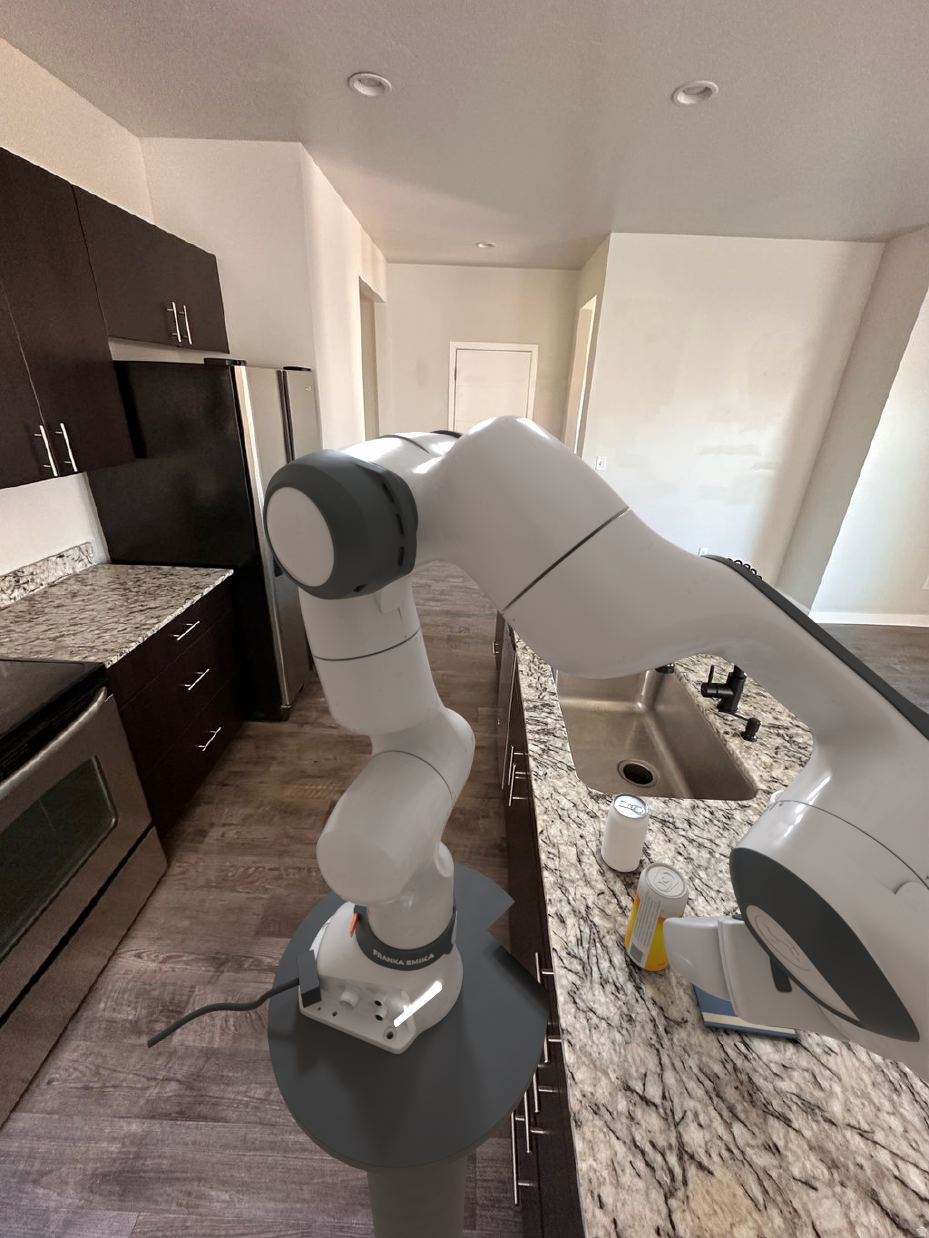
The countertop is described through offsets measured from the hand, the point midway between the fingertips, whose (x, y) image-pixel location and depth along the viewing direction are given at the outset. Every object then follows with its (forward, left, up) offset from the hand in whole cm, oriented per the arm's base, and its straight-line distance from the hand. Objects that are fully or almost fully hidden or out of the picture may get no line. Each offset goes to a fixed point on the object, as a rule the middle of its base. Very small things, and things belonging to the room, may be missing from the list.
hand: (737, 923), depth 49 cm
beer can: (-2, +12, -25) cm, 28 cm away
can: (-3, +28, -25) cm, 38 cm away
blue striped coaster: (+9, +9, -24) cm, 28 cm away
